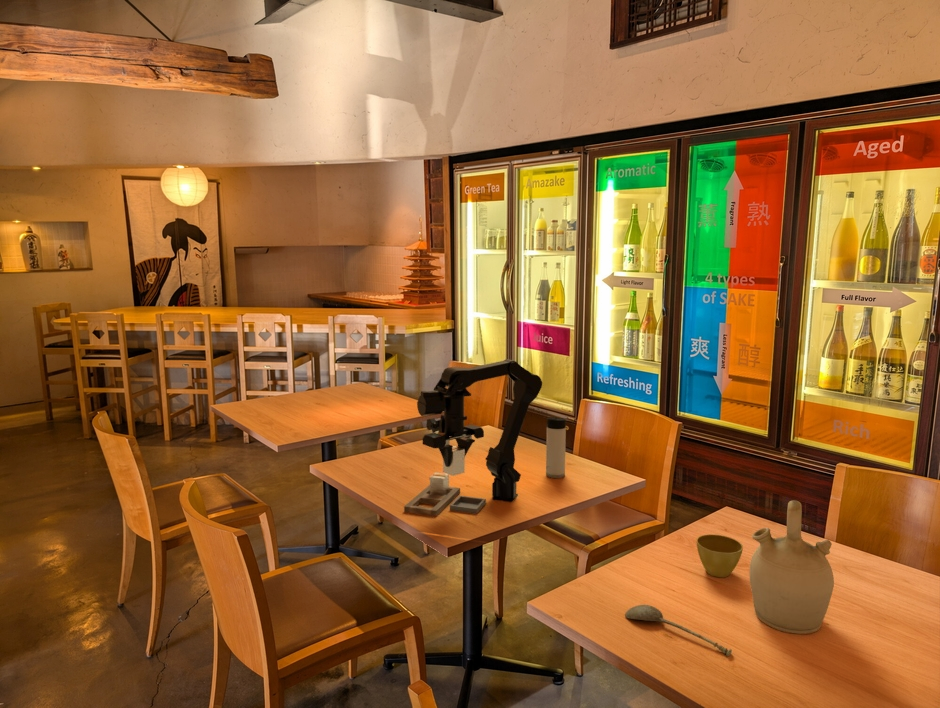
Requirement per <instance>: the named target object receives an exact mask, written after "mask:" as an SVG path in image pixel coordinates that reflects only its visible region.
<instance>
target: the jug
mask: <svg viewBox="0 0 940 708" xmlns="http://www.w3.org/2000/svg"><path fill="white" fill-rule="evenodd" d="M802 507H803V505H802V503H801V502H800V501H798V500H794V499H793V500H790V501H788V503H787V511H786V535H785V536H781V537H776V538H773V537H772V534H771V529H770V528H769V527H762V528H759V529H758V530H756V531H754V533H752V535H751V537H752V539H753V540H755V541H756V542H758V543H759V544H760V545H759V546H758V547H756V549H755V550H754V552H753V554H752V556H751V558H750V562H749V585H750V590H751V595H752V601H753V602H752V603H753V607H754V613H755V615H756V617H757V618H758V619H759V620H760V621H761V622H762V623H764V625H766V626H768V627H770V628H772V629H775V630H776V631H777V630H778V631H780V632H783V633H786V634H787V633H788V634H795V635H809V634H813V633H816V632H817V631H819V630H820V629H821V628H822V623H823V621H824V619H825V617H826V614H827V611H828V608H829V605H830V602H831V598H832V594H833V591H834V585H835V581H834V580H835V579H834V572H833V568H832V566H831V564H830V562H829V560H828V559H827V557H826V555H830V553H831V551H830V549H831V548H832V542H831V540H829V539H825V540H821V541H817V542H816V543H815V545H813V544H811V543H810V542H807V541H806V540H803V537H802V514H803V513H802V512H803V511H802V510H803V509H802Z"/></svg>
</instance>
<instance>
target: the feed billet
mask: <svg viewBox="0 0 940 708" xmlns="http://www.w3.org/2000/svg"><path fill="white" fill-rule="evenodd" d="M452 446H453V448H452V454H451V460H450V465H449V467H446V465H445V463H444V460H443V459H442V473H445V474H449V476H452V477H454V476H457V475H460V474H465V469H466V467H465V465H466V464H465V463H466V461H465V459H466V456H465V449H463V448H460V447H458V445H452Z"/></svg>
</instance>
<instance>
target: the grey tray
mask: <svg viewBox="0 0 940 708" xmlns="http://www.w3.org/2000/svg"><path fill="white" fill-rule="evenodd" d="M486 504H487V499H486V498H484V497H483V498H482V497H474V496H467V495H458V496H457V497H456V498H455V499H454V500H453V501H452V502H451V503H450V504H449V511H452V512H460V513H466V514H467V513H468V514H475V515H477V514H478V513H479V512H480V511H481V510H482V509H483V507H484V506H485V505H486Z"/></svg>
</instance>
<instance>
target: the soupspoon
mask: <svg viewBox="0 0 940 708" xmlns="http://www.w3.org/2000/svg"><path fill="white" fill-rule="evenodd" d="M624 617H625V619H629V620H630V619H631V620H638V621H652V622H661V623H663V624H666V625H669V626H672V627H674V628H677V629H679V630H682V631H684V632H686V633H688V634H689V635H692V636H694V637H697V638H698V639H701V640H703V641H704V642H707V643H708V644H710V645H713V647H714V648H717V650H719V651H721V652H722V654H723V655H725V657H727V658H728V657H729V656H731V654H732V652H733V650H732V649H731V648H730V649H728V648H726V647H724V646H722V645H721V644H718V642H714V641H713V640H711V639H709V638H707V637H705V636H703V635H702V634H700V633H697V632H695V631H693V630H690V629H688V628H686V627H684V626H683V625H680V624H678V623H675V622H673V621H670V620H668V619H665V618H664V615H663V613H662V612H661V610H659V608H657V607H655V606H653V605H649V604H640V605H639V604H638V605H635V606H632V607H630V608H629V609H627V611H626V612H625V614H624Z"/></svg>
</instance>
